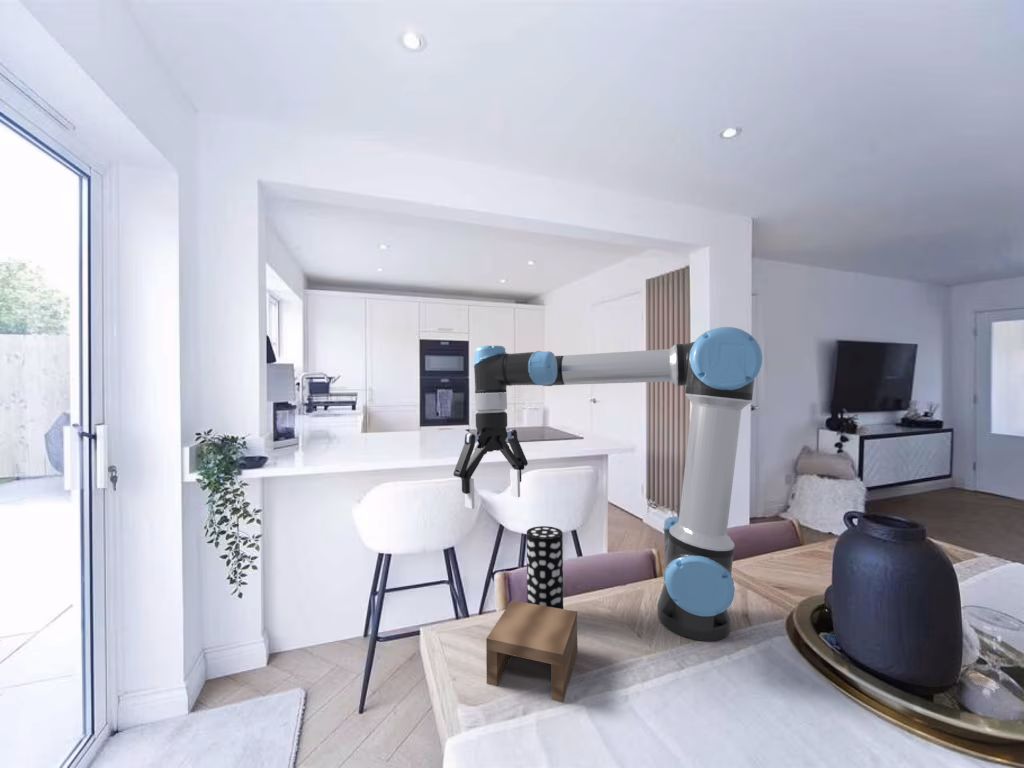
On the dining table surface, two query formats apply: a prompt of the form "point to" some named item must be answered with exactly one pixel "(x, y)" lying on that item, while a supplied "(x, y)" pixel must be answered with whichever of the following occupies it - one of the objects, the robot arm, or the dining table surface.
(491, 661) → the wooden bridge block
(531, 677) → the dining table surface
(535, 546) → the spotted tube
